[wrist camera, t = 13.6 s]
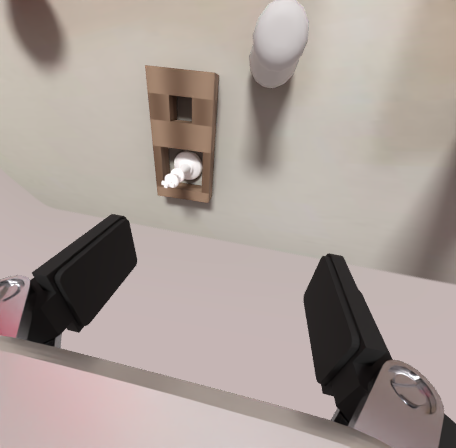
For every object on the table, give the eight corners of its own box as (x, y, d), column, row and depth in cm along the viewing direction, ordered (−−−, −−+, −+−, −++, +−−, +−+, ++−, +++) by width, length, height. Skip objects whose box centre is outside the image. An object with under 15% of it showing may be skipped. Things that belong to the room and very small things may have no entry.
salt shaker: (303, 70, 26) (334, 48, 15) (263, 98, 28) (265, 97, 17) (283, 18, 24) (304, -52, 13) (242, 53, 26) (228, 19, 15)
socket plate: (218, 75, 27) (214, 72, 25) (211, 195, 37) (208, 202, 34) (155, 68, 28) (145, 65, 25) (164, 188, 38) (157, 195, 35)
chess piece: (175, 147, 33) (147, 163, 25) (204, 154, 33) (185, 173, 25) (173, 175, 36) (147, 198, 28) (200, 182, 36) (182, 207, 28)
